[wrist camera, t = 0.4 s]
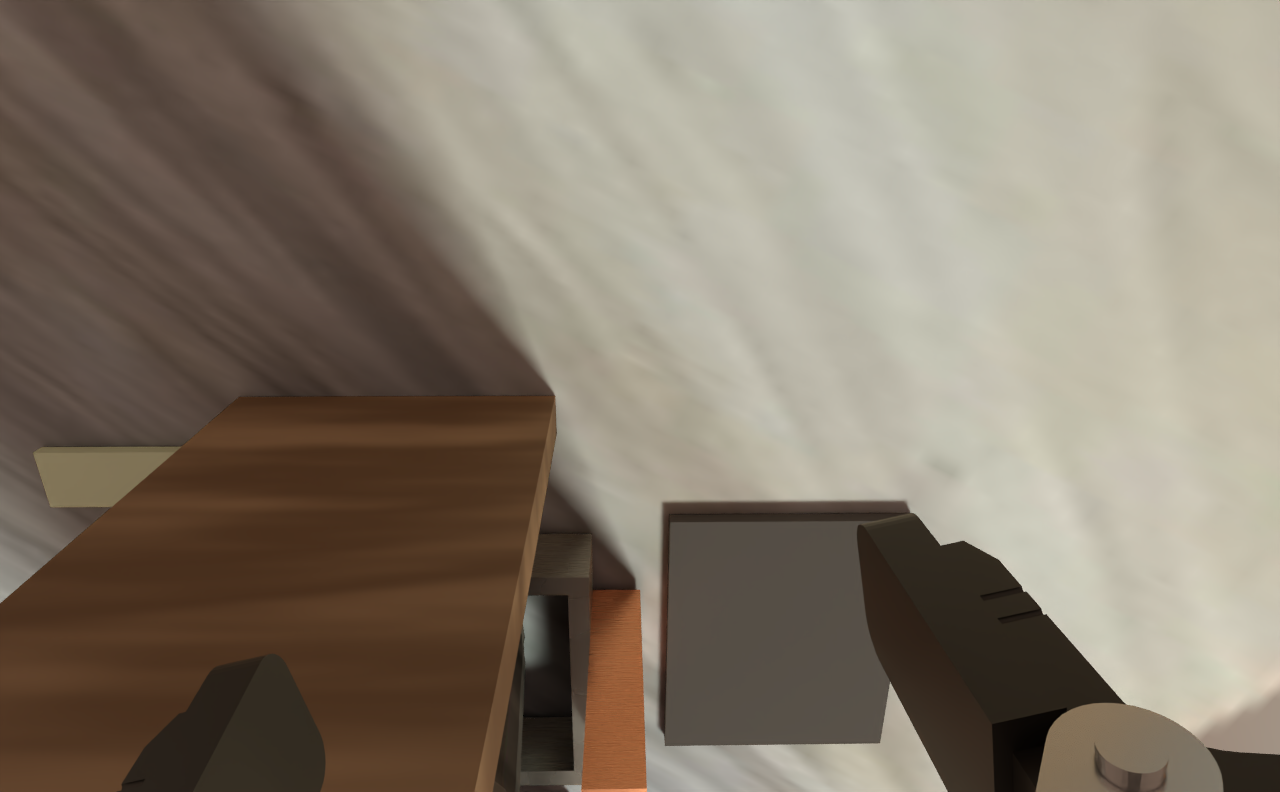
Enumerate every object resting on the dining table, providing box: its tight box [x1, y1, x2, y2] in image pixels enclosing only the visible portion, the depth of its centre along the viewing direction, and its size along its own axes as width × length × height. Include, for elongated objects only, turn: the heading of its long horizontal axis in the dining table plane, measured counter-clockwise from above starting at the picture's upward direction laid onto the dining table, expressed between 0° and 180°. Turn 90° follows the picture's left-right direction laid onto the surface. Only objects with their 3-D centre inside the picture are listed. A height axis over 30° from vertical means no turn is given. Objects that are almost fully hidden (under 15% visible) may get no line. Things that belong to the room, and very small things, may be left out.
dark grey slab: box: [664, 513, 909, 746], centre depth 35 cm, size 12×10×1 cm
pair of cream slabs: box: [33, 447, 181, 507], centre depth 34 cm, size 18×7×1 cm, turn 0°
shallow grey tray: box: [520, 534, 647, 792], centre depth 30 cm, size 11×13×10 cm
